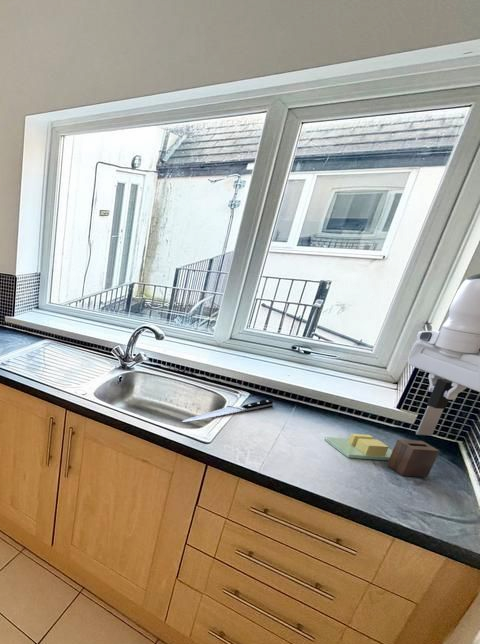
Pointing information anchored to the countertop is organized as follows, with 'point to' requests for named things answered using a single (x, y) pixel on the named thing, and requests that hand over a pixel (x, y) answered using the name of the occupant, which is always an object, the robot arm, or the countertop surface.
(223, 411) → the steak knife
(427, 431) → the knife
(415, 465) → the knife block
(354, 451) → the butter dish
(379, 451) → the butter block
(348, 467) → the countertop surface
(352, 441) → the butter slice
